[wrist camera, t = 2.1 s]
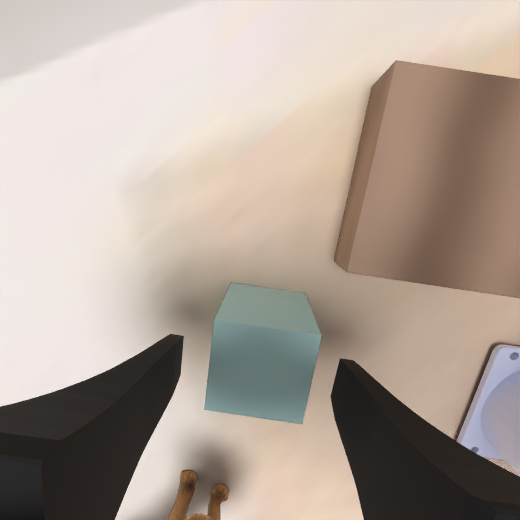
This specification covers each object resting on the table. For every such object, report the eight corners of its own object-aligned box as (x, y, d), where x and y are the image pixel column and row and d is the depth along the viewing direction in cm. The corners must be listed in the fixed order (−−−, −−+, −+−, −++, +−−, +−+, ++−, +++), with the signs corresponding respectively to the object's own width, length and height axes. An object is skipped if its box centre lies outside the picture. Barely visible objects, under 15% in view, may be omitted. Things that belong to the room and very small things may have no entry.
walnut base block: (550, 113, 13) (615, 93, 10) (488, 283, 15) (530, 299, 13) (371, 86, 13) (396, 60, 10) (334, 260, 15) (346, 272, 13)
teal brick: (305, 293, 16) (322, 335, 11) (292, 358, 17) (302, 424, 12) (231, 282, 16) (214, 319, 11) (223, 348, 17) (204, 409, 12)
